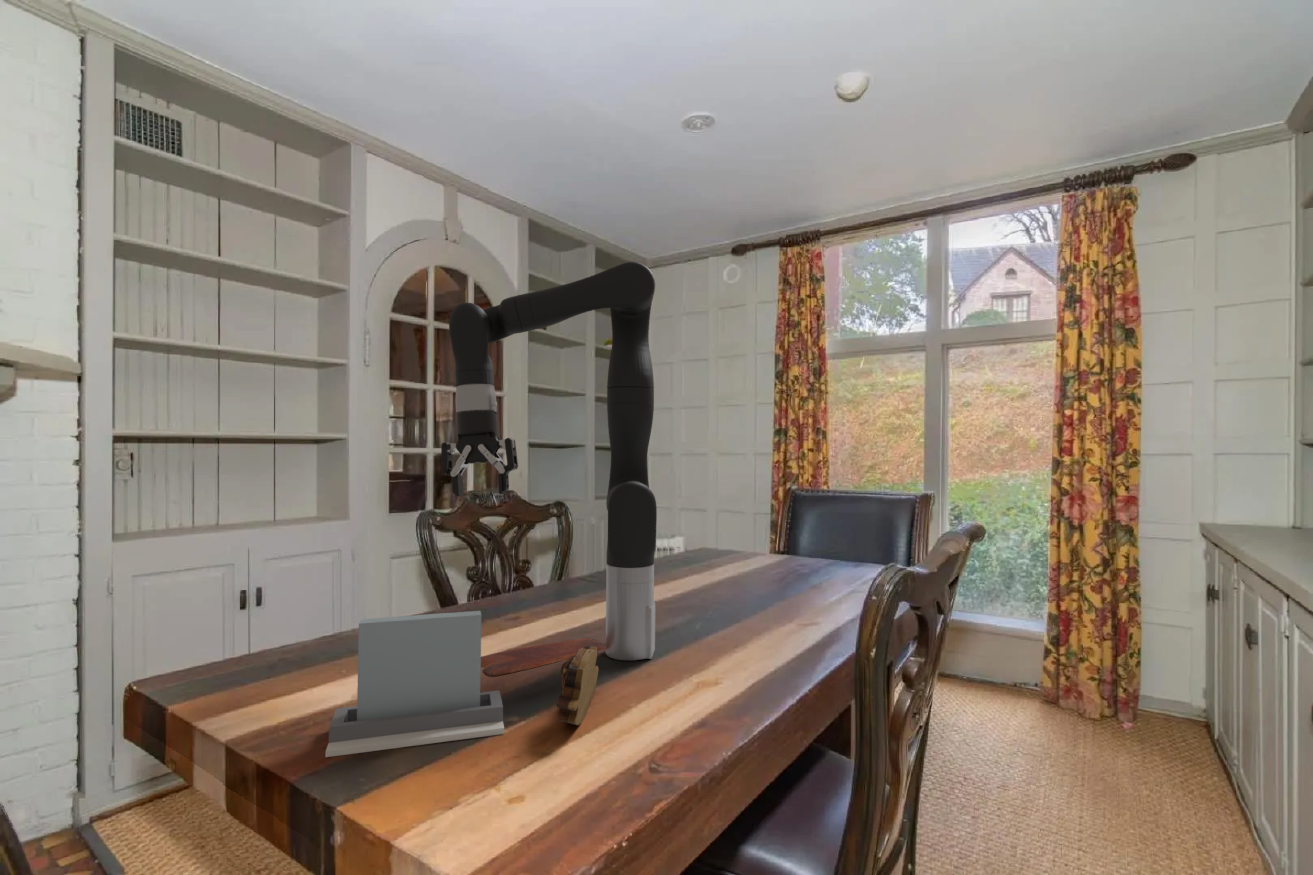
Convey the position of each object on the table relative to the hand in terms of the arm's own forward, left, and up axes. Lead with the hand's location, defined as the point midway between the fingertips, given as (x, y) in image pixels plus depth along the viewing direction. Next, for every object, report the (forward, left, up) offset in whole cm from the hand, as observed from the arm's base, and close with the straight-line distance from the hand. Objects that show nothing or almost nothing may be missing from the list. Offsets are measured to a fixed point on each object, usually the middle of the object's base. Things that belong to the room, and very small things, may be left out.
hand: (481, 495), depth 119 cm
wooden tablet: (-12, -3, -31) cm, 34 cm away
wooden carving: (-25, +24, -31) cm, 46 cm away
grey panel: (-3, +27, -30) cm, 40 cm away
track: (-4, +30, -30) cm, 43 cm away
